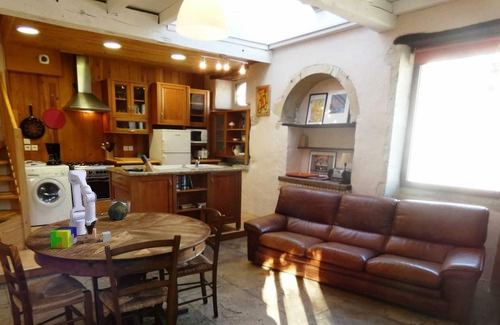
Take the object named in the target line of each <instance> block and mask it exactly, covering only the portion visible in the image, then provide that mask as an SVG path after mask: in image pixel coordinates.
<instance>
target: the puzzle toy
mask: <svg viewBox="0 0 500 325" xmlns="http://www.w3.org/2000/svg"><path fill="white" fill-rule="evenodd" d="M76 243H78V235H77V227H69V226H59V227H57V228H55V229H53V230H50V247H51V249H56V248H57V249H59V248H60V249H64V248H65V249H66V248H67V249H68V248H70V247H72V246H73V245H75V244H76Z"/></svg>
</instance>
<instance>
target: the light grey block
mask: <svg viewBox="0 0 500 325" xmlns="http://www.w3.org/2000/svg"><path fill="white" fill-rule="evenodd" d="M101 241H102V242H103V243H107V242H111V241H112V234H111V231H110V230H109V231H103V232H101Z"/></svg>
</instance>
